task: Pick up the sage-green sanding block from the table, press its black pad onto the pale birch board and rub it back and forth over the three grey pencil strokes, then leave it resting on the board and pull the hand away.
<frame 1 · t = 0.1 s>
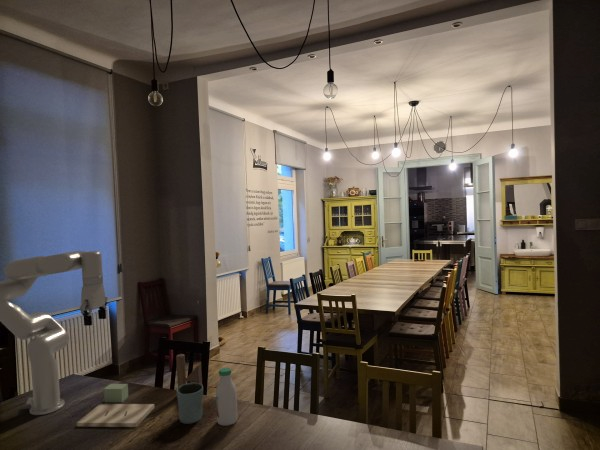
hand: (95, 322, 168), 37 cm above the table, tool pointing down, fingers open, 9 cm apart
birch board: (117, 416, 162), on the table
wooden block: (189, 396, 178), on the table
blue cup: (191, 418, 158), on the table
milk bottle: (227, 421, 155), on the table
sanding block: (116, 401, 176), on the table
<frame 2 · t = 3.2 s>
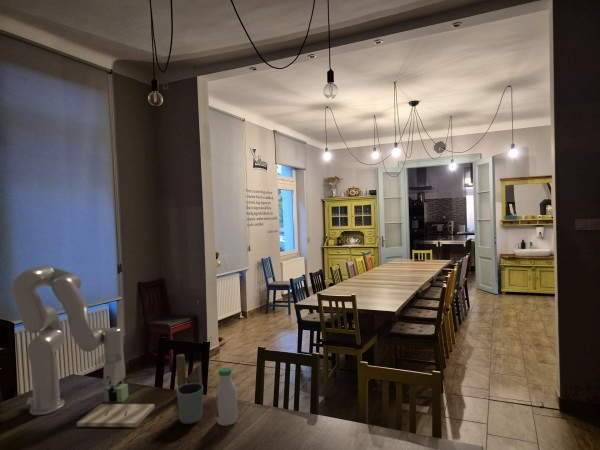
hand: (116, 397, 176), 1 cm above the table, tool pointing down, fingers closed on sanding block, 5 cm apart
sanding block: (116, 400, 176), on the table, touching gripper
everything else where it was.
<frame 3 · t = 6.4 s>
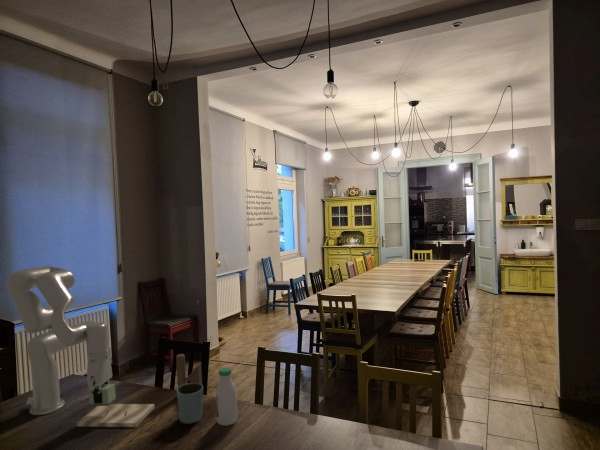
hand: (102, 399, 161), 7 cm above the table, tool pointing down, fingers closed on sanding block, 5 cm apart
sanding block: (103, 402, 161), point 6 cm above the table, touching gripper
everything else where it was.
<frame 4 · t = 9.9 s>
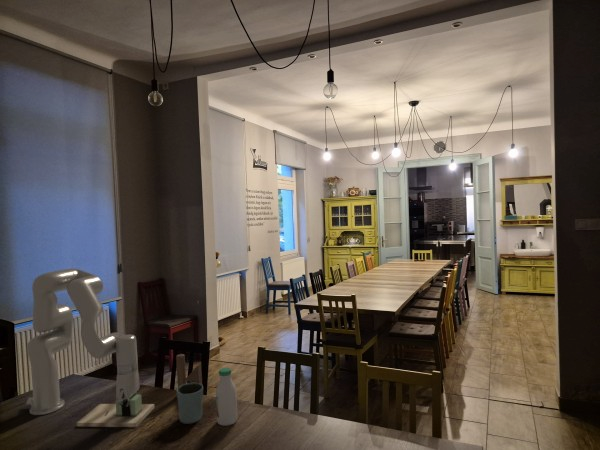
hand: (130, 411, 161), 2 cm above the table, tool pointing down, fingers closed on sanding block, 5 cm apart
sanding block: (129, 413, 161), point 2 cm above the table, touching gripper
everything else where it was.
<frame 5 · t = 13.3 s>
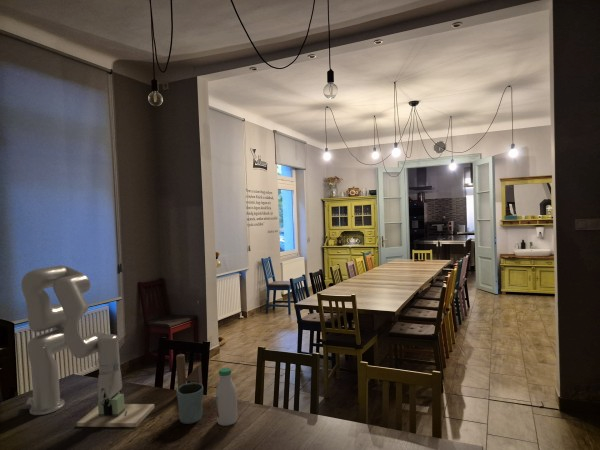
hand: (112, 411, 161), 3 cm above the table, tool pointing down, fingers closed on sanding block, 5 cm apart
sanding block: (111, 412, 161), point 2 cm above the table, touching gripper
everything else where it was.
when the fingers open (3 cm above the table, at t = 16.5 s): sanding block stays where it is, resting on birch board.
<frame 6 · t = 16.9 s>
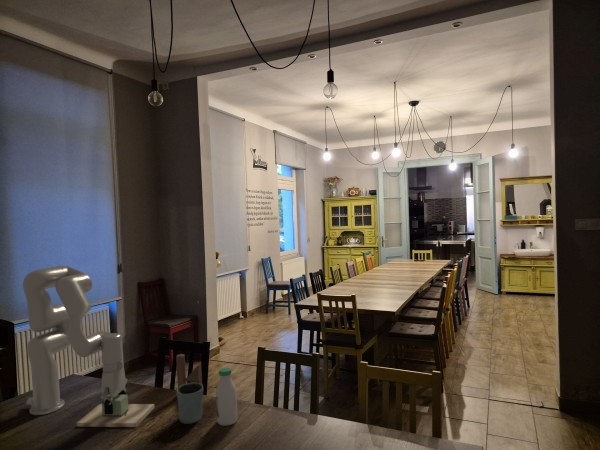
hand: (115, 407, 161), 4 cm above the table, tool pointing down, fingers open, 9 cm apart
sanding block: (115, 413, 161), point 2 cm above the table, touching birch board
everything else where it was.
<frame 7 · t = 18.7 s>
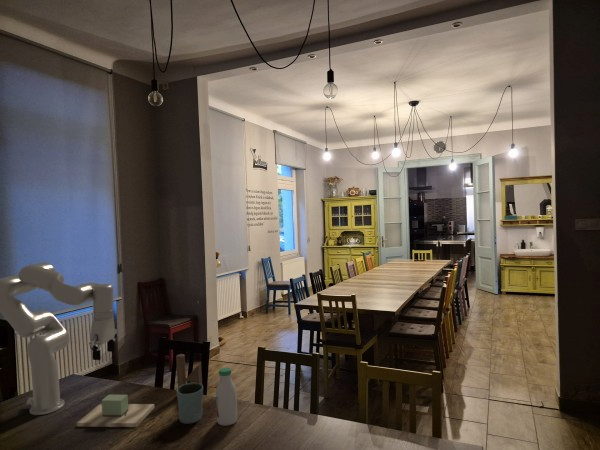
hand: (104, 355, 167), 23 cm above the table, tool pointing down, fingers open, 9 cm apart
nothing on the table moved.
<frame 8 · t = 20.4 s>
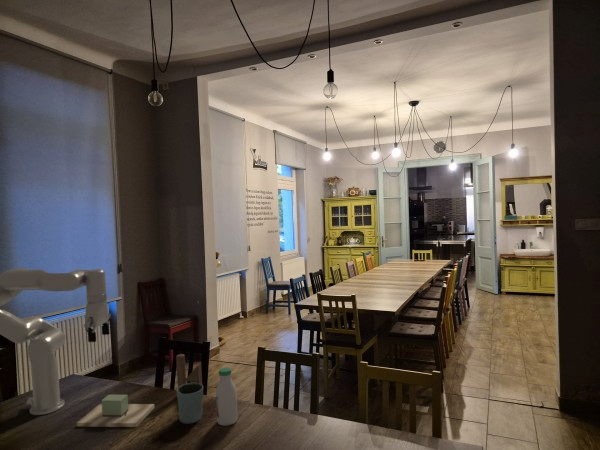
hand: (99, 338, 174), 28 cm above the table, tool pointing down, fingers open, 9 cm apart
nothing on the table moved.
at the end: sanding block inside the target area on the birch board (0.3 cm from its centre), point 1.5 cm above the birch board's base; sanding block tilted 0°; the gripper is holding nothing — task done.
